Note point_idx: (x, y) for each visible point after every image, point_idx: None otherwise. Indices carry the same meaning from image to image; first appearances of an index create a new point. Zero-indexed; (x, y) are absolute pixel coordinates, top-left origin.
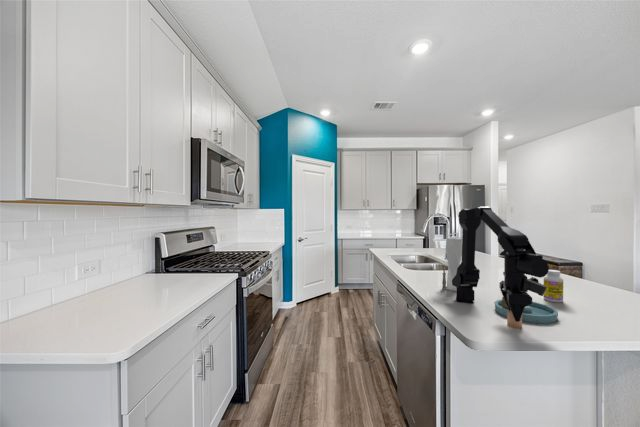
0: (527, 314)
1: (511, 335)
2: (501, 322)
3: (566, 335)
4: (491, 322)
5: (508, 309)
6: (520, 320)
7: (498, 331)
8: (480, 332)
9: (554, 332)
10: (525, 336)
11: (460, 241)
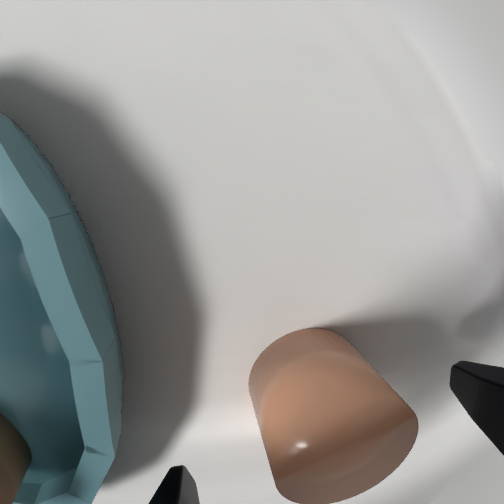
0: (70, 337)
1: (478, 341)
2: None
3: (290, 3)
4: None
5: (21, 454)
6: (370, 369)
7: (447, 405)
8: (471, 438)
9: (275, 71)
10: (471, 277)
11: None
